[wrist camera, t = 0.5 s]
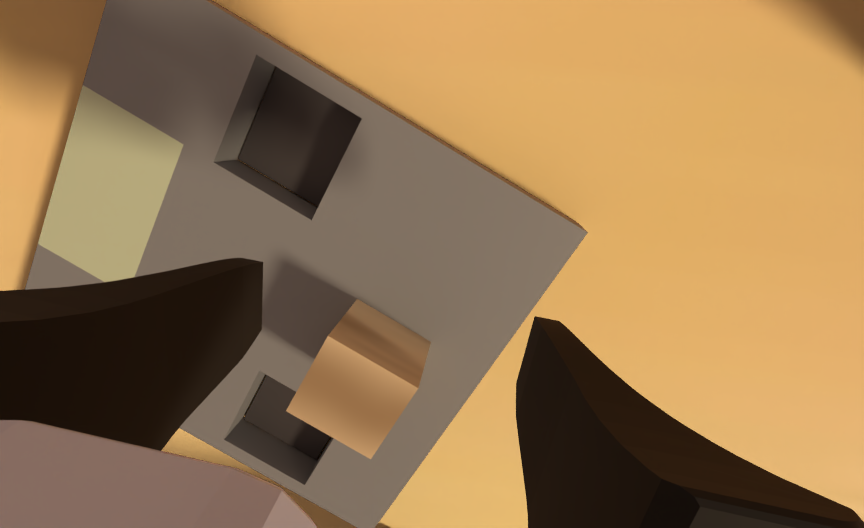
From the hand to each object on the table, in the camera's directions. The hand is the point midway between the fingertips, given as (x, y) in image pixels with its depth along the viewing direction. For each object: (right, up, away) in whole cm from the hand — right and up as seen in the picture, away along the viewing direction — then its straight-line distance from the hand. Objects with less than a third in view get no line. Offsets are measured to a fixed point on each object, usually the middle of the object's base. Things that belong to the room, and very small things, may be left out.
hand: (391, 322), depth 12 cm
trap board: (-7, +1, +12) cm, 13 cm away
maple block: (-2, -3, +10) cm, 10 cm away
